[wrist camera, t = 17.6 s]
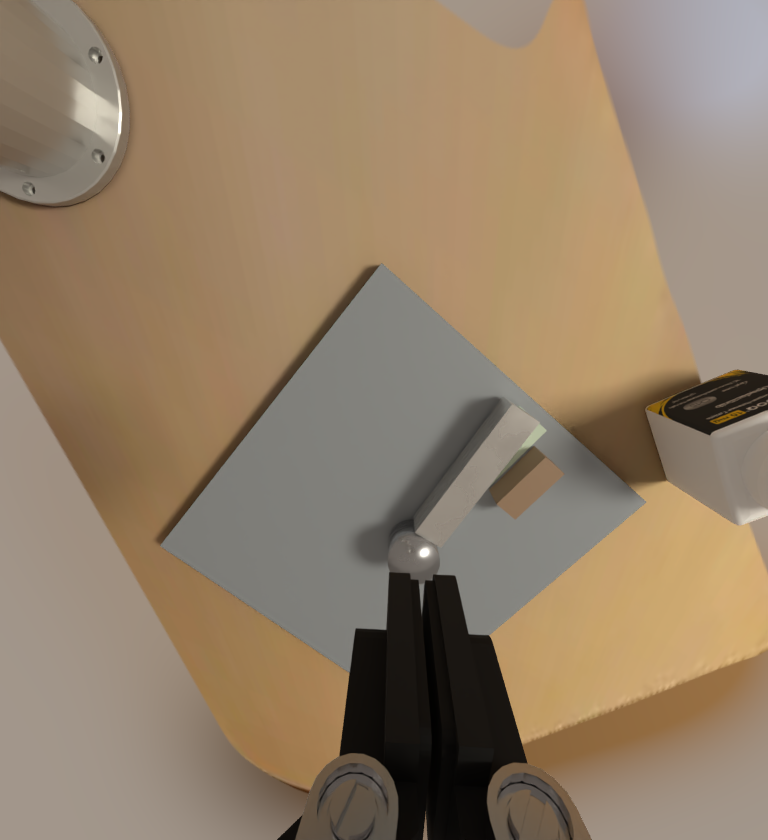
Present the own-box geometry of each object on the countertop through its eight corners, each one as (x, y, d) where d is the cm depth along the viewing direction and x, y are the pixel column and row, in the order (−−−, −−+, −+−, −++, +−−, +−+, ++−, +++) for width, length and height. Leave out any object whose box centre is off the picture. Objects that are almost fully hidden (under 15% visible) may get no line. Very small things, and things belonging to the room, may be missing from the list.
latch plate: (167, 537, 35) (142, 563, 32) (382, 264, 28) (380, 259, 25) (402, 696, 40) (403, 734, 36) (637, 495, 33) (666, 517, 29)
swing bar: (418, 568, 34) (421, 593, 31) (379, 546, 33) (377, 569, 30) (536, 418, 29) (551, 430, 27) (493, 390, 29) (504, 399, 26)
